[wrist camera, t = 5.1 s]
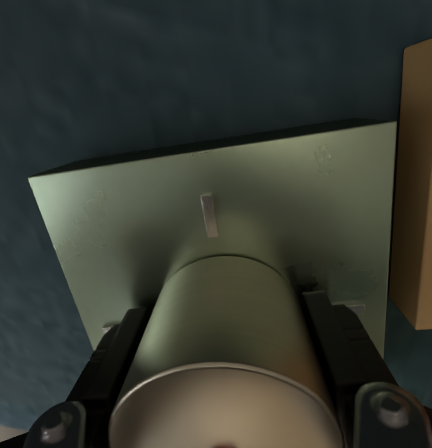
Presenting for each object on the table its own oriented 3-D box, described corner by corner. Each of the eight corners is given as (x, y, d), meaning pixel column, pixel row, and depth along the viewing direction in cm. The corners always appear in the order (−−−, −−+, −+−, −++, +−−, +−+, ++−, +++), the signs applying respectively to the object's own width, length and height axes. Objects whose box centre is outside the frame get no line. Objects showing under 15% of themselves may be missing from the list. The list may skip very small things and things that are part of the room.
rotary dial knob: (141, 263, 10) (66, 387, 6) (297, 246, 9) (353, 369, 5) (172, 377, 12) (134, 540, 7) (304, 368, 11) (350, 539, 7)
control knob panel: (144, 380, 16) (124, 440, 13) (74, 161, 12) (22, 178, 9) (352, 366, 15) (381, 429, 12) (355, 117, 11) (401, 120, 8)
